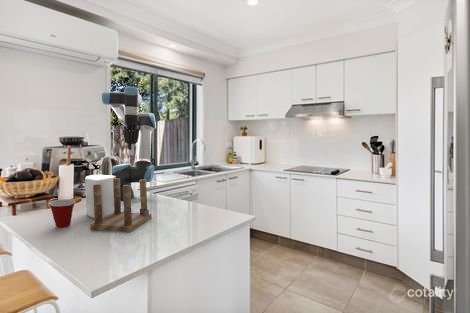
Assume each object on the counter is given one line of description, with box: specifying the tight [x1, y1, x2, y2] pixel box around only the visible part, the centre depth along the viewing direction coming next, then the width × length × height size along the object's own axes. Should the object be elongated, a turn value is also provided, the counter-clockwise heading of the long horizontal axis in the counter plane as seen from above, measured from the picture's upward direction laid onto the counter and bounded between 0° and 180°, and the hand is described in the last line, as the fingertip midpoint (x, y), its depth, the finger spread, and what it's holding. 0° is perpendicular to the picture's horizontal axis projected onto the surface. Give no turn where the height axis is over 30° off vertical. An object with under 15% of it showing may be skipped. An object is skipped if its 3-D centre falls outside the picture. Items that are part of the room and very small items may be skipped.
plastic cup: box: [48, 198, 76, 229], centre depth 127 cm, size 11×11×12 cm
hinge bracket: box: [139, 208, 150, 216], centre depth 137 cm, size 2×5×3 cm, turn 46°
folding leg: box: [139, 179, 148, 212], centre depth 136 cm, size 3×3×16 cm
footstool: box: [89, 178, 152, 233], centre depth 130 cm, size 20×20×21 cm
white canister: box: [84, 174, 116, 220], centre depth 144 cm, size 15×14×22 cm
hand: (131, 154), depth 156 cm, fingers closed
